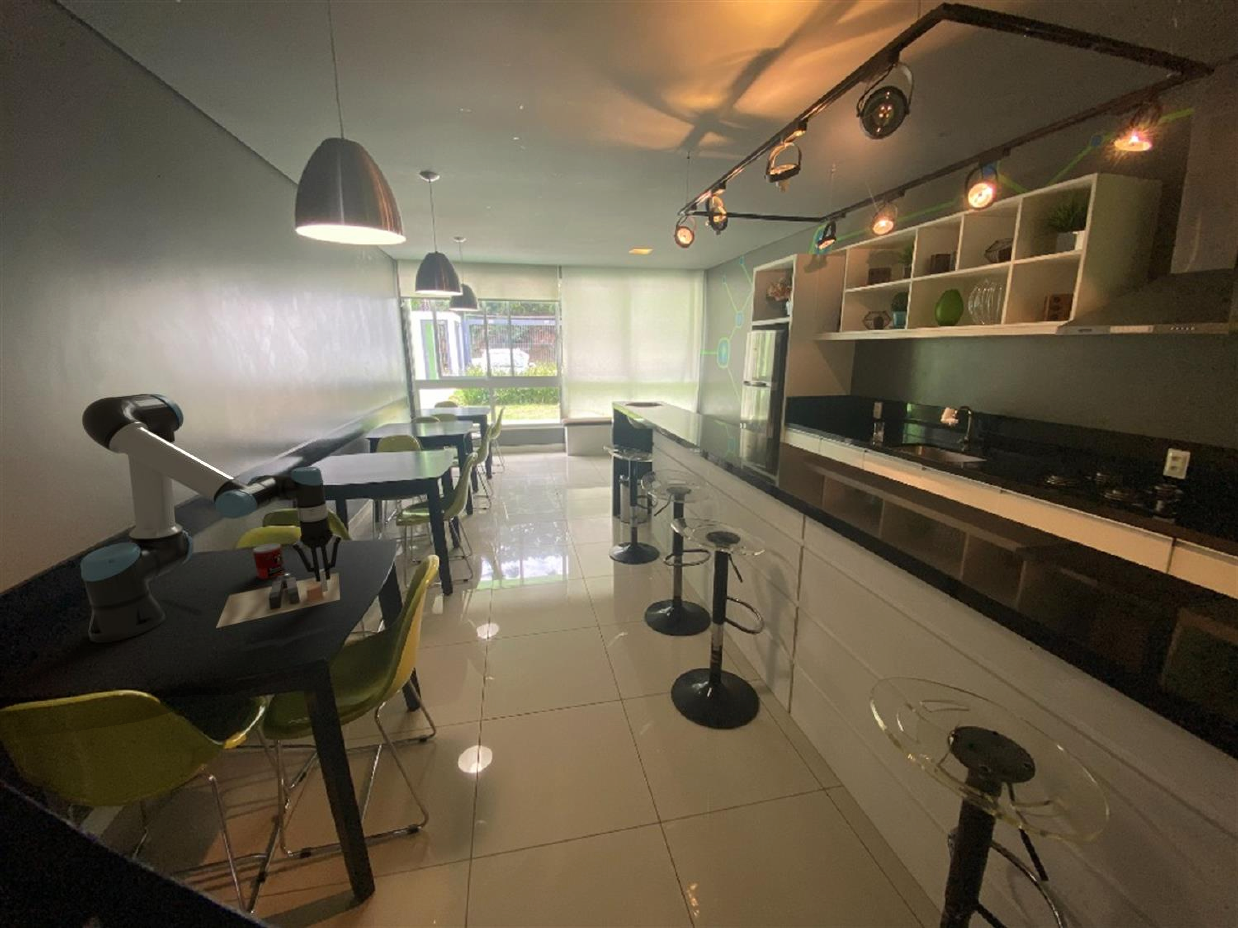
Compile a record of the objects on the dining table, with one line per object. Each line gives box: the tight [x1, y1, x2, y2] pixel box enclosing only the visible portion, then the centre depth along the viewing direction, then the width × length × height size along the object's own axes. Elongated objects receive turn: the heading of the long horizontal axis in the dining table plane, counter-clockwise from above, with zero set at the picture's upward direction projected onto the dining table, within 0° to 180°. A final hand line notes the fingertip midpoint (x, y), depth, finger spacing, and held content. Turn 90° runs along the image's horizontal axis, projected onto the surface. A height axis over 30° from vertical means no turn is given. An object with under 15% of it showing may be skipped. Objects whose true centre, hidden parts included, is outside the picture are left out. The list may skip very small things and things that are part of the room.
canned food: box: [252, 542, 286, 580], centre depth 167 cm, size 8×8×11 cm
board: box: [215, 572, 341, 629], centre depth 151 cm, size 30×22×1 cm
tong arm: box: [286, 576, 300, 605], centre depth 152 cm, size 13×2×4 cm, turn 36°
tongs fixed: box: [269, 571, 292, 609], centre depth 152 cm, size 18×5×4 cm, turn 30°
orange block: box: [306, 584, 323, 601], centre depth 150 cm, size 4×3×4 cm
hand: (325, 589), depth 152 cm, fingers closed
